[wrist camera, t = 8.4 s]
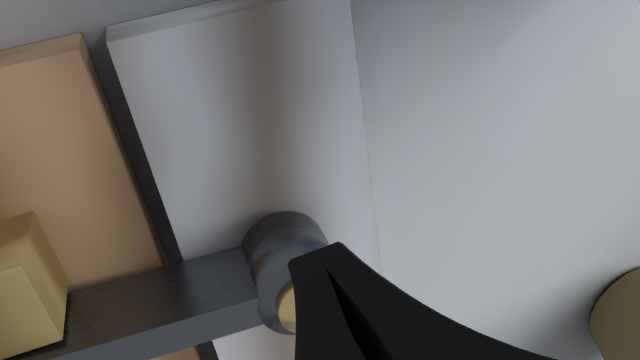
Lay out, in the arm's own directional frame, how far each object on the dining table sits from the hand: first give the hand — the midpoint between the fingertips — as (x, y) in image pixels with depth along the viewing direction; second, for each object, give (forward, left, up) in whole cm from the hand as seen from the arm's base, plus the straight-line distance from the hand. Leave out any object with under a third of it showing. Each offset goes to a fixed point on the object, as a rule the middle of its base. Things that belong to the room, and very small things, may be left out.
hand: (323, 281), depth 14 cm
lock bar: (+5, +4, -7) cm, 9 cm away
